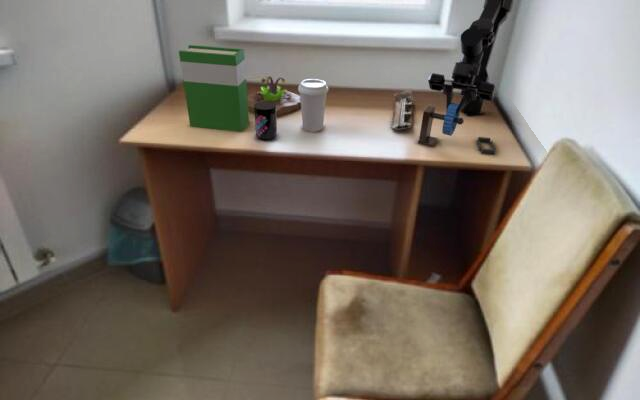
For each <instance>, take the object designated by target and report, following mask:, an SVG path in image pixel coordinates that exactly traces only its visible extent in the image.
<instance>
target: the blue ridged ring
mask: <svg viewBox="0 0 640 400" xmlns="http://www.w3.org/2000/svg"><path fill="white" fill-rule="evenodd" d="M459 104H460V103H456V102H451V104H450V105H449V107H448V109H447V112H445V114H444V115H445V118H444V120H443V122H442V129H441V132H442V134H443V135H445V136H450V137H452V136H453V134H454V132H455V130H456V128H457V126H458V123H454V122H453V119H454V117H457V118H460V114H461V111H460V112H459V113H458V114H456V111H457V108H458V106H459Z"/></svg>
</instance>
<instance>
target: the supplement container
mask: <svg viewBox="0 0 640 400" xmlns="http://www.w3.org/2000/svg"><path fill="white" fill-rule="evenodd" d="M253 114H254V128H255V137H256V138H257V140H259V141H264V142H269V141H273V140H275V139H276V138H277V136H278V122H277V121H278V120H277V119H278V118H277V117H278V116H277V117H276V104H275V103H273V102H269V101H262V102H257V103H255V104H254V113H253Z"/></svg>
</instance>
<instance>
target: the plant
mask: <svg viewBox="0 0 640 400" xmlns="http://www.w3.org/2000/svg"><path fill="white" fill-rule="evenodd" d="M280 80H281V82H282V83H286V79H285V78H284V77H281V76H280V77H278V78H277V79H276V80H275V82H274V79H273V77H272V76H270V75H268V76H266V77H265V78H262V79H261V80H260V82H261V83H262V84H264V83H265V82H266V83H267V86H266V87H265V86H260V91H255V92H253V93H251V94H249V95H247V97H248V111H249V113H252V114H254V104H255V103H257V102H262V101H269V102H273V103H275V104H276V117H281V116H283V115H287V114H289V113H291V112H293V111H298V109H300V108H301V101H300V94H298V93H297V94H296V93H293V92H292V91H288V90H287V89H285V88H284V89H281V88H282V87H281V86H280V85H278V83H279V81H280Z"/></svg>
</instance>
